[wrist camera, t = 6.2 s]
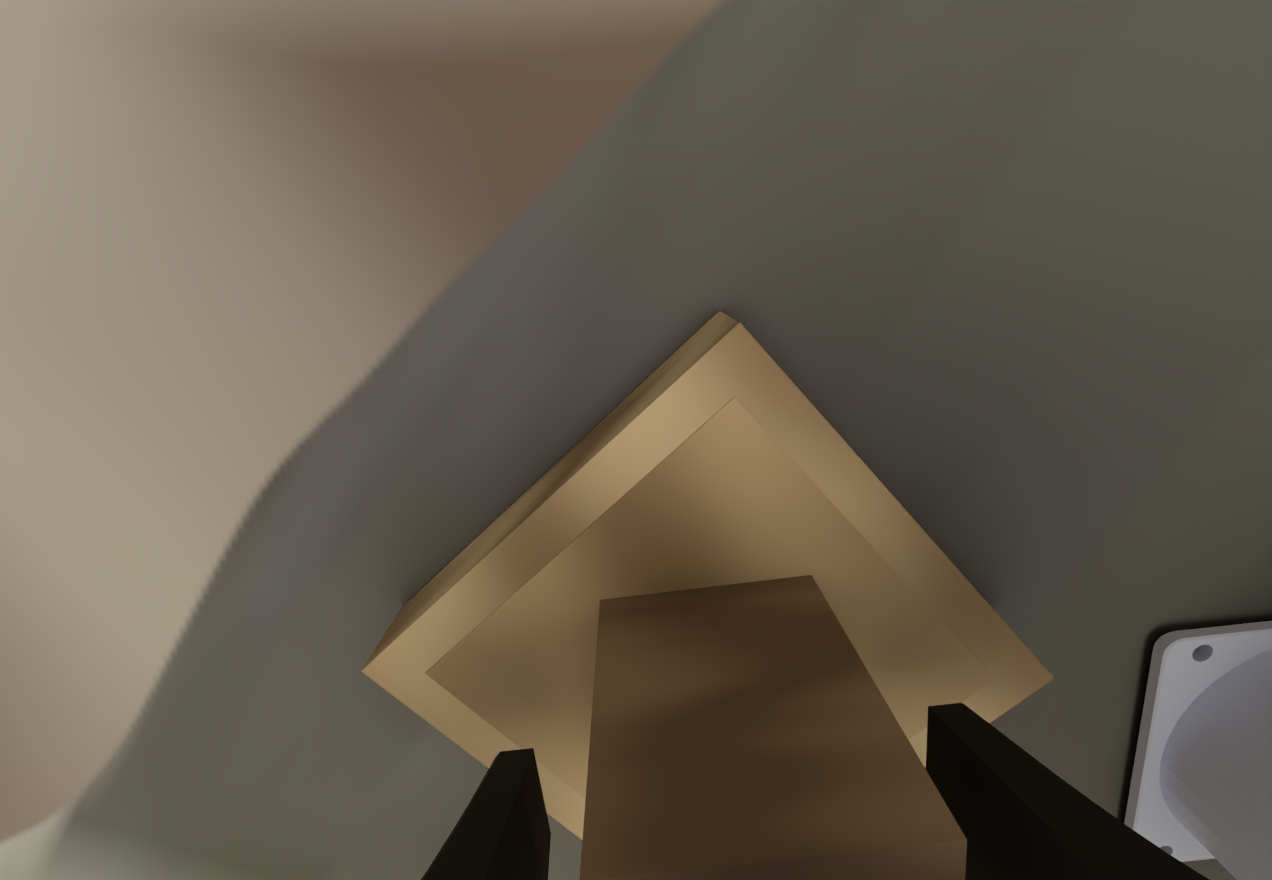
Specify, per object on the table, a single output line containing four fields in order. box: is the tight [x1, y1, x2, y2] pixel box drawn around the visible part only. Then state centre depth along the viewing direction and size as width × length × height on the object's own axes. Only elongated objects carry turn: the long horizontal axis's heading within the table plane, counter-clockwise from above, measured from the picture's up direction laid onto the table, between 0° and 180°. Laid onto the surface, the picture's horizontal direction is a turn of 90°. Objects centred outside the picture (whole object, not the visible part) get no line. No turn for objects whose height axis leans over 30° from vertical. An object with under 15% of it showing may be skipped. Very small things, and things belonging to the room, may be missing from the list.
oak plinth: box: [361, 311, 1055, 840], centre depth 15 cm, size 11×11×3 cm
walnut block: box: [580, 575, 967, 880], centre depth 10 cm, size 4×4×6 cm
